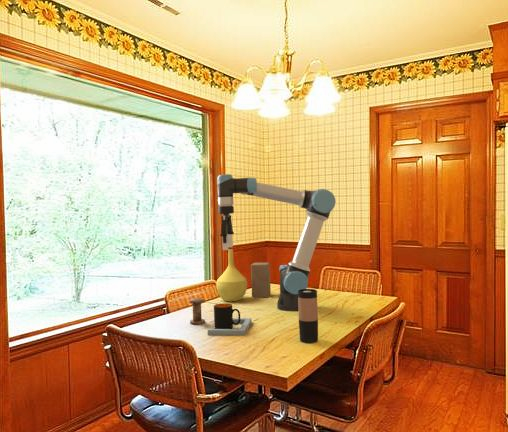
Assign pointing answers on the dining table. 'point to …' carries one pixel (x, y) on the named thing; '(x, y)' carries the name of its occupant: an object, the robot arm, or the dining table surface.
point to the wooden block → (260, 280)
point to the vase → (231, 282)
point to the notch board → (242, 331)
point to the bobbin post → (197, 311)
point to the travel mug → (308, 315)
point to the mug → (224, 316)
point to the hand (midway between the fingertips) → (227, 248)
